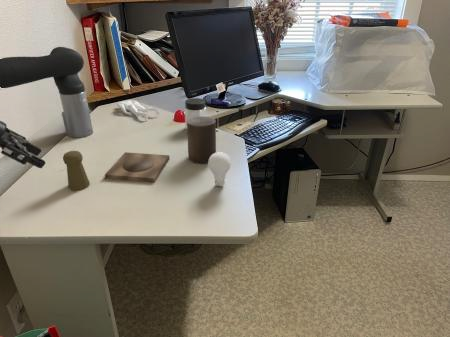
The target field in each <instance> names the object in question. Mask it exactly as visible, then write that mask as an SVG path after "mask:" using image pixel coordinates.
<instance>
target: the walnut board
mask: <svg viewBox="0 0 450 337" xmlns="http://www.w3.org/2000/svg"><path fill="white" fill-rule="evenodd" d="M169 161H170V155H168V154H156V153H140V152H129V151H128V152H124V153H123V154H122V155H121V156H120V157H119V158H118V159H117V160H116V162H115V163H114V164H113V165H112V166H111V167H110V168H109V169H108V170H107V171H106V173H105V174H104V178H105V179H106V180H116V181H117V180H119V181H120V180H121V181H130V182H141V183H142V182H143V183H156V182H157V180H158V178H159V177H160V175H161V173H162V172H163V170H164V168H166V165H168V163H169Z"/></svg>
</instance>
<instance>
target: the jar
mask: <svg viewBox="0 0 450 337" xmlns="http://www.w3.org/2000/svg"><path fill="white" fill-rule="evenodd" d="M199 116H203V117H207V107H206V100H205V99H203V98H199V97H198V98H197V97H196V98H195V97H193V98H188V99H186V100H185V102H184V122H185V123H184V124H185V125H184V126H185V130H187V120H188V119H190V118H193V117H199Z"/></svg>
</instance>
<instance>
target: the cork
mask: <svg viewBox="0 0 450 337" xmlns="http://www.w3.org/2000/svg"><path fill="white" fill-rule="evenodd" d="M62 161H63V163H64V164H65V166H66V173H67V184H68V187H67V188H68V190H70V191H73V192H75V191H76V192H78V191H83V190H85V189H87V188H89V187H90V185H91V183H90V180H89V177H88V175H87V172H86V170H85V167H84V165H83V154H82V153H81V152H80V151H78V150H70V151H67V152H65V153H64V154H63V157H62Z"/></svg>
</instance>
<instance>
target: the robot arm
mask: <svg viewBox="0 0 450 337" xmlns="http://www.w3.org/2000/svg"><path fill="white" fill-rule="evenodd" d="M1 58H2V59H0V87H1V88H5V89H8V88H9V89H10V88H13V87H17V86H21V85H26V84H30V83H34V82H37V81H41V80H45V79H49V78H53V81H54V84H55V86H56V88H57V90H58V93H59V97H60V101H61V107H62V109H63V111H61V117H62V121H63V125H64V129H65V133H66V136H69V137H71V138H84V137H88V136H90V135H92V134H93V133H94V127H93V124H92V119H91V114H90V113H91V112H90V108H89V104H88V103H89V102H88V98H87V93H86V88H85V84H84V82H83V81H82V79H81V78H80V76H79V73H80V72H81V71H82V70H83V68H84V65H85V61H84V58H83V56H82V55H81V53H79V52H78V51H77V50H75V49H72V48H69V47H65V46H56V47H54V48H52V49H51V51H50V53H49V54H48V55H41V56H9V57H7V56H6V57H1ZM0 148H1V151H0V153H1V154H2V155H4V156H5V157H8V158H10V159H12V160H14V161H15V162H18V163H20V164H21V165H26V164H27V163H28V164H29V165H32V166H34V167H36V168H39V169H43V167H44V166H45V164H46V161H45V160H44V159H42V158H40V157H38V156H39V155H40V154H41V153H42V149H41V148H40V147H38V146H36V145H34V144H32V143H30V141H29V140H28V139H27V138H26V137H25V136H23V135H21V134H19V133H17V132H15V131H14V130H12V129H9V128H8V127H7V124H6V123H5V122H4V121H2V120H0Z"/></svg>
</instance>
